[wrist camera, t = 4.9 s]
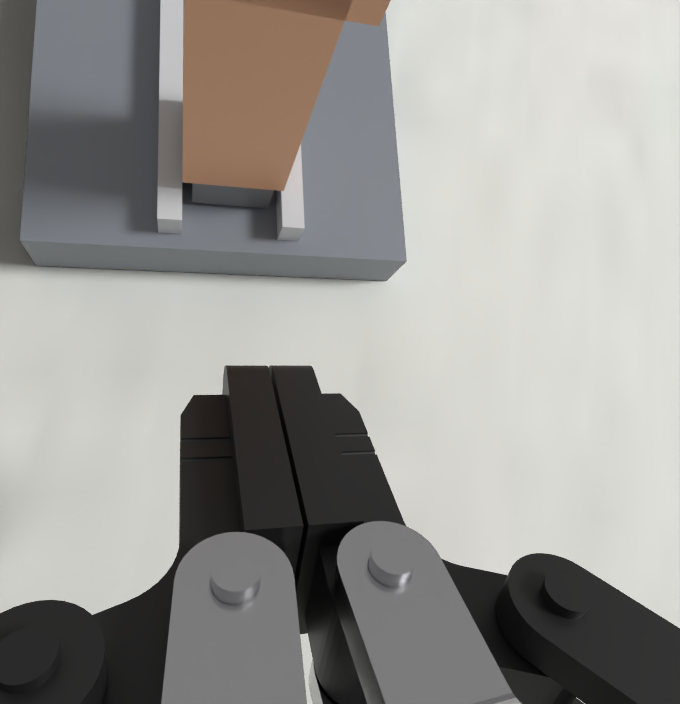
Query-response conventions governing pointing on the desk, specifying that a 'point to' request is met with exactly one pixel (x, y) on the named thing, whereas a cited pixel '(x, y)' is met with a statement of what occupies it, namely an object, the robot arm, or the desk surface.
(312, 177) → the fader console
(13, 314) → the desk surface
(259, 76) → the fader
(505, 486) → the desk surface
